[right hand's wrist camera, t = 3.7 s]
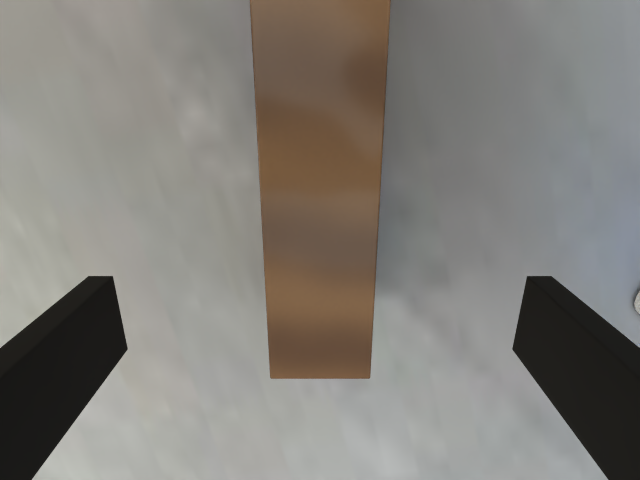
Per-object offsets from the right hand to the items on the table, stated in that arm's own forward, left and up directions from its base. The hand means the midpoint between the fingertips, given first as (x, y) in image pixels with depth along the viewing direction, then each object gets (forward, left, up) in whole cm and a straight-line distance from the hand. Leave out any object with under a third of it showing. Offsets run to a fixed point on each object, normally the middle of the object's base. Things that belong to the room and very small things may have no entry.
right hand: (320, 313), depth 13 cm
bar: (-6, +19, -14) cm, 24 cm away
